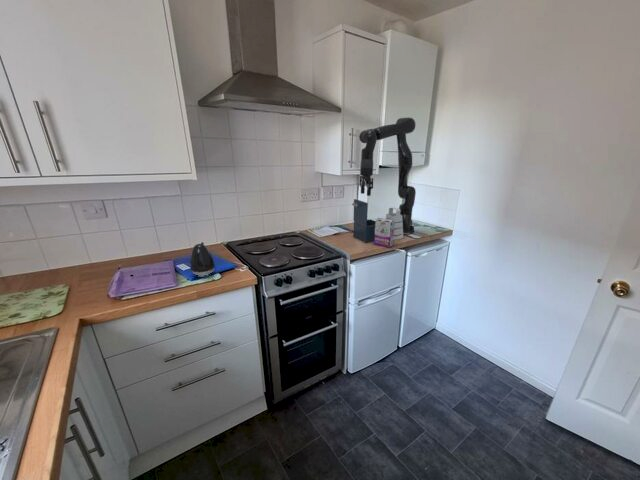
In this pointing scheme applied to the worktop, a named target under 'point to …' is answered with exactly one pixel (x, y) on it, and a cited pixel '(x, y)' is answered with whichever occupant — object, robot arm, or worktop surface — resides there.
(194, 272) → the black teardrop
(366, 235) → the bin
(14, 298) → the worktop surface
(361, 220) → the bin lid
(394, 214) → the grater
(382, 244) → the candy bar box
